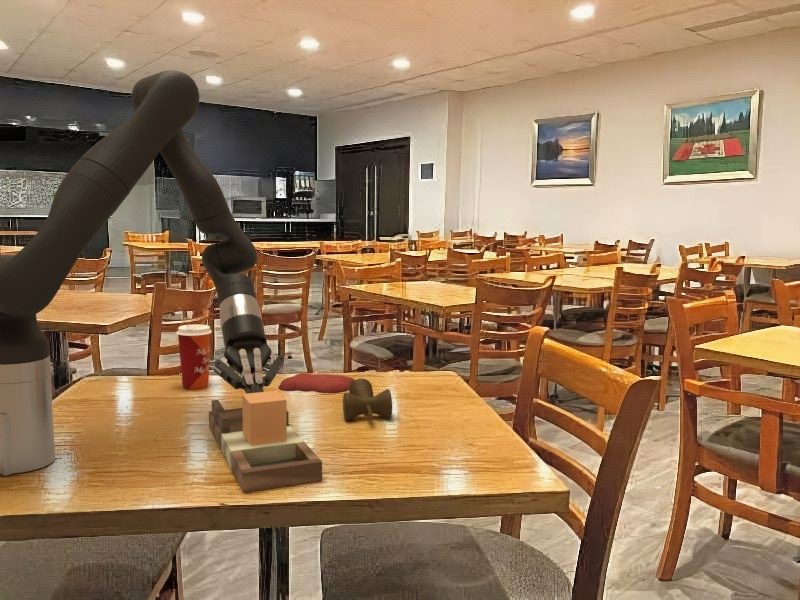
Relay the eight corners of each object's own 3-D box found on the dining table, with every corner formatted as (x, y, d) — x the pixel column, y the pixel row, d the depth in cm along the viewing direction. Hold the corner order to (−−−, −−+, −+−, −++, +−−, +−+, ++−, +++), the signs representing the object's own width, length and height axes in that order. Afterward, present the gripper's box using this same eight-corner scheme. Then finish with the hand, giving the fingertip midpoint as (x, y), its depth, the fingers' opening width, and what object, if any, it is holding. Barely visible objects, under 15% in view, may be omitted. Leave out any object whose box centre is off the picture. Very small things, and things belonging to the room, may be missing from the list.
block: (242, 434, 115) (242, 394, 114) (277, 429, 118) (277, 390, 117) (250, 445, 110) (249, 403, 109) (286, 440, 112) (286, 399, 111)
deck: (209, 426, 128) (208, 398, 127) (272, 419, 133) (271, 392, 132) (243, 492, 99) (242, 456, 98) (322, 480, 104) (322, 446, 103)
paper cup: (207, 391, 152) (205, 330, 150) (173, 390, 152) (171, 329, 150) (217, 382, 159) (216, 324, 158) (184, 381, 160) (183, 323, 158)
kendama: (382, 401, 149) (396, 428, 129) (338, 403, 148) (346, 431, 128) (382, 374, 148) (395, 397, 129) (338, 376, 147) (345, 400, 127)
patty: (272, 392, 154) (272, 383, 154) (291, 377, 168) (290, 369, 167) (346, 396, 151) (347, 388, 151) (360, 381, 165) (360, 373, 165)
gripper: (207, 314, 120) (220, 399, 111) (280, 310, 126) (299, 391, 116) (203, 338, 126) (215, 421, 116) (273, 333, 131) (290, 413, 122)
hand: (257, 406), depth 116 cm, fingers closed
